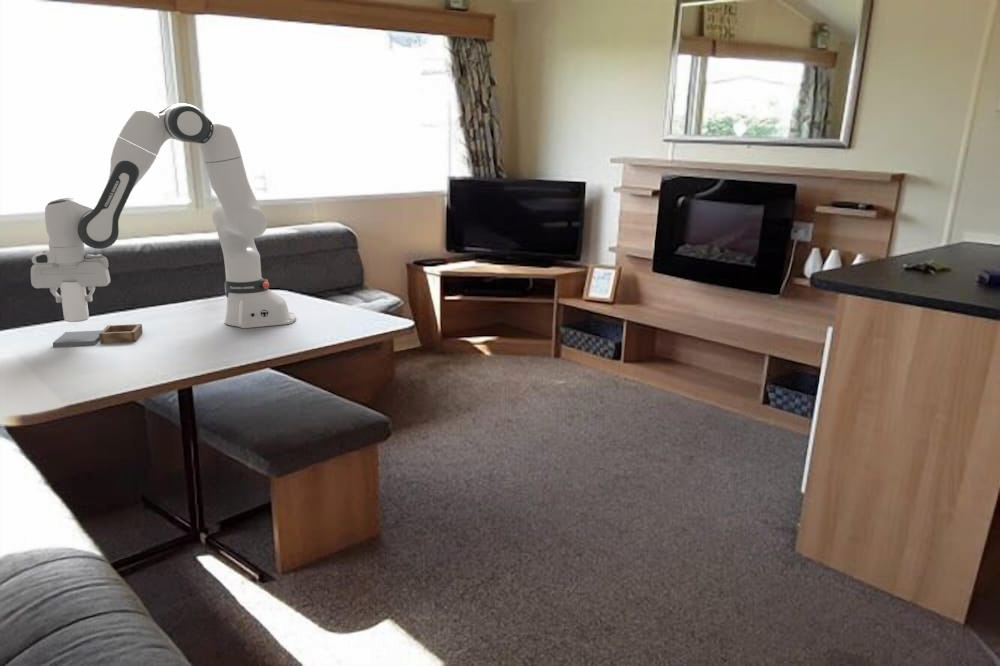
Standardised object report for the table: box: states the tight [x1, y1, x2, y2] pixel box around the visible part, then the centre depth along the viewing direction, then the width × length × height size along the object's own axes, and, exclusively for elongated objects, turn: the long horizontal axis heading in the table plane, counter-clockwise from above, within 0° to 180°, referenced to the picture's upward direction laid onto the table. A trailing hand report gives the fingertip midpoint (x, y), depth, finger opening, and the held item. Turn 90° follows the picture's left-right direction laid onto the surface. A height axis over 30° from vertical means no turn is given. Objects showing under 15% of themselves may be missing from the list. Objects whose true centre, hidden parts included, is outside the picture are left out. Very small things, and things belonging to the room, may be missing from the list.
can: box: [60, 281, 90, 323], centre depth 217 cm, size 6×6×12 cm
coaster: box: [52, 329, 103, 348], centre depth 220 cm, size 11×12×1 cm
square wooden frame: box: [99, 323, 144, 344], centre depth 222 cm, size 10×10×3 cm
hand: (74, 301), depth 217 cm, fingers closed on can, 6 cm apart
